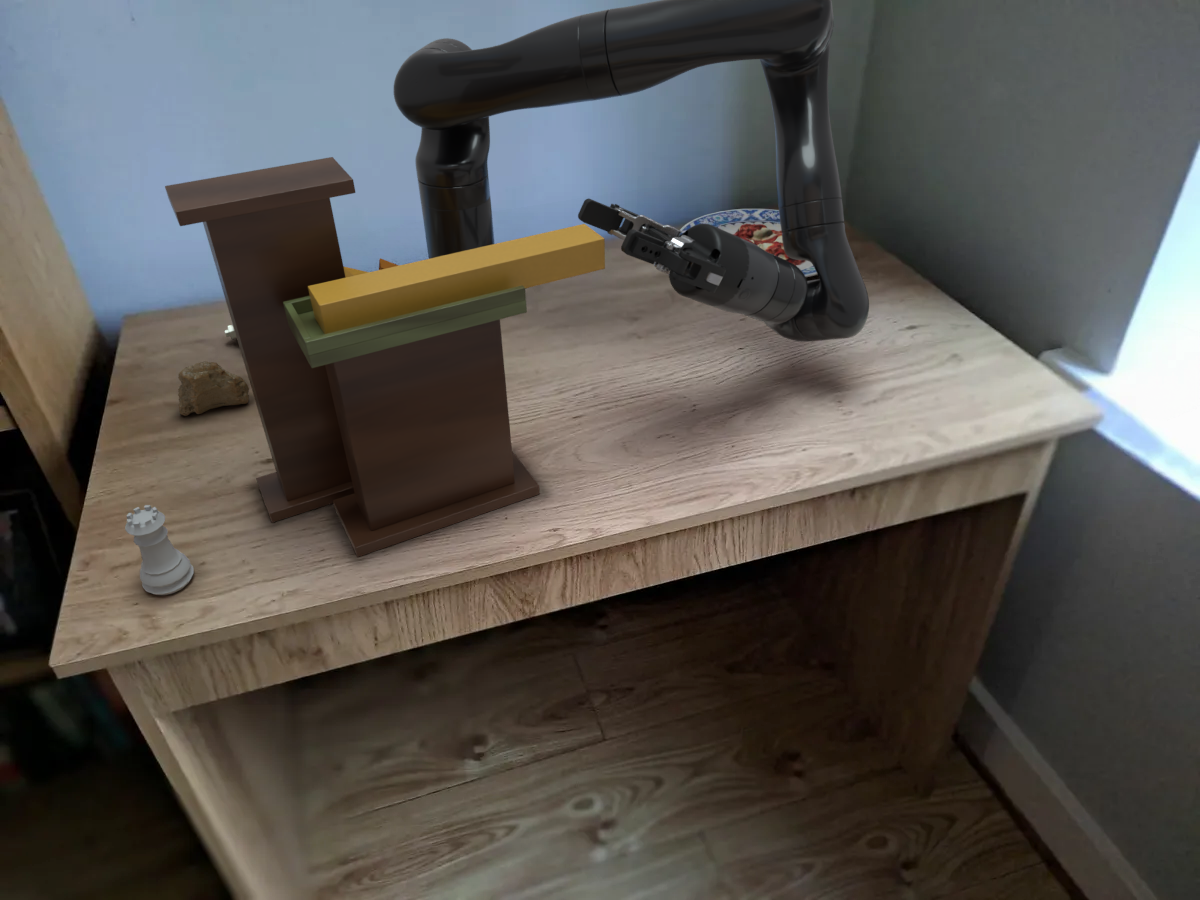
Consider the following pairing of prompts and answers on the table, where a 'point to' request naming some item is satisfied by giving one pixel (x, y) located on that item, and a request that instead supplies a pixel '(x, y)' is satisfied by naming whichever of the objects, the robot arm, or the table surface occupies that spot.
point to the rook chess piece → (158, 553)
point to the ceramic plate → (754, 231)
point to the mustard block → (456, 277)
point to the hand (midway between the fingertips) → (603, 224)
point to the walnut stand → (356, 369)
